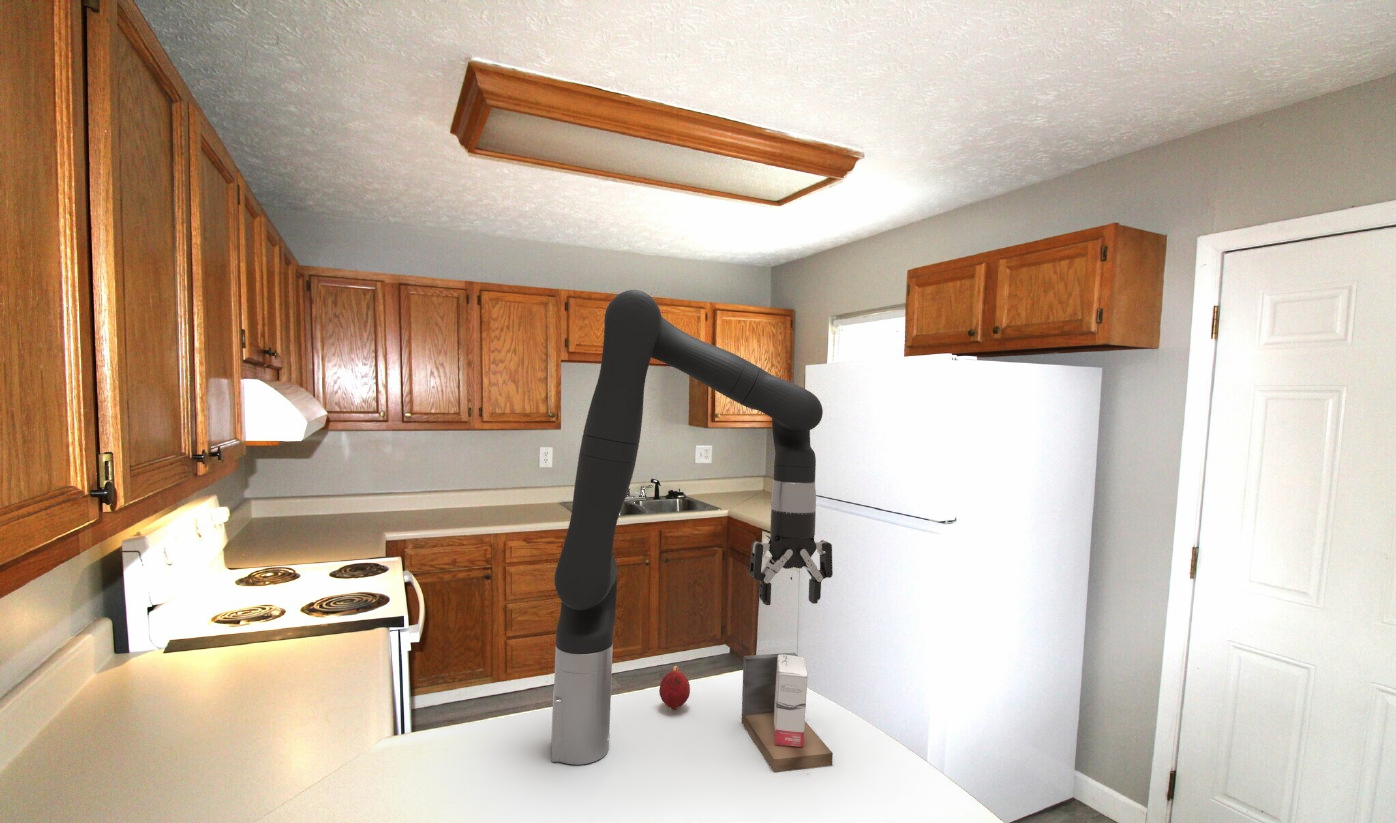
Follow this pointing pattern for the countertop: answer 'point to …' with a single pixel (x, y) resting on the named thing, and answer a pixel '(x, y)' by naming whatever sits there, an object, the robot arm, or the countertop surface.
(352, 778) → the countertop surface
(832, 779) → the countertop surface
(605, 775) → the countertop surface
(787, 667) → the ink box
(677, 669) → the onion
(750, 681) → the shelf board
